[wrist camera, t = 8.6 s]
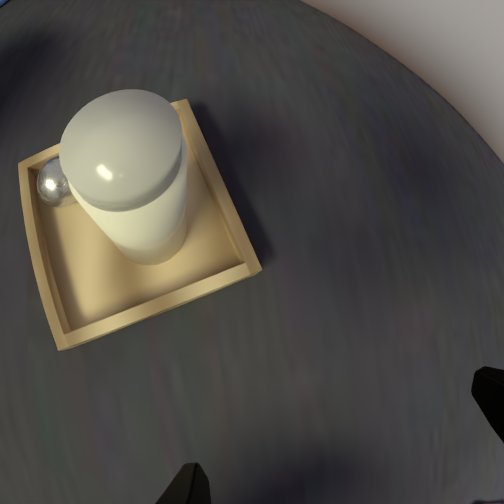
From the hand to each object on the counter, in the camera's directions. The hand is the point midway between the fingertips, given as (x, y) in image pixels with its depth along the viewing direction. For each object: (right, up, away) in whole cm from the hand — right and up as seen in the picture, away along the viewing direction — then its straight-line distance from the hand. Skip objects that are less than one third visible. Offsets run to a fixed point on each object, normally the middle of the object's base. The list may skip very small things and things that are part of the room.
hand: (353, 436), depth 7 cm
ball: (-16, +10, +12) cm, 22 cm away
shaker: (-10, +7, +13) cm, 17 cm away
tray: (-12, +8, +13) cm, 19 cm away
